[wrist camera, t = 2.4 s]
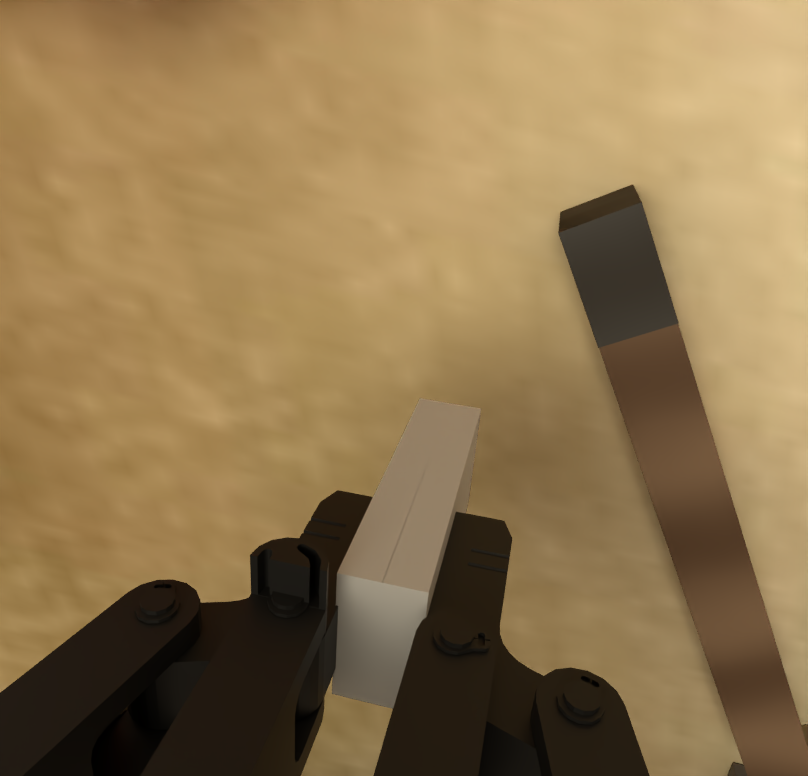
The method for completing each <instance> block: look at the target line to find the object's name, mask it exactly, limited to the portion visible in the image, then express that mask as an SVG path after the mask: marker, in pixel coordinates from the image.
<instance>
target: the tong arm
mask: <svg viewBox="0 0 808 776" xmlns="http://www.w3.org/2000/svg"><path fill="white" fill-rule="evenodd" d="M558 233H559V236H560V239H561V242H562V245H563V247H564V250H565V253H566V256H567V259H568V262H569V265H570V268H571V270H572V273H573V276H574V279H575V282H576V285H577V288H578V291H579V293H580V296H581V299H582V302H583V305H584V308H585V311H586V314H587V317H588V319H589V322H590V325H591V328H592V331H593V334H594V337H595V340H596V342H597V345H598V348H599V349H600V352H601V355H602V358H603V361H604V363H605V366H606V369H607V372H608V375H609V378H610V381H611V384H612V386H613V389H614V392H615V395H616V398H617V401H618V404H619V407H620V410H621V412H622V415H623V418H624V421H625V424H626V427H627V430H628V433H629V436H630V438H631V441H632V444H633V447H634V450H635V453H636V456H637V459H638V461H639V464H640V467H641V470H642V473H643V476H644V479H645V482H646V485H647V487H648V490H649V493H650V496H651V499H652V502H653V505H654V508H655V511H656V513H657V516H658V519H659V522H660V525H661V528H662V531H663V534H664V536H665V539H666V542H667V545H668V548H669V551H670V554H671V557H672V560H673V562H674V565H675V568H676V571H677V574H678V577H679V580H680V583H681V585H682V588H683V591H684V594H685V597H686V600H687V603H688V606H689V609H690V611H691V614H692V617H693V620H694V623H695V626H696V629H697V632H698V635H699V637H700V640H701V643H702V646H703V649H704V652H705V655H706V658H707V660H708V663H709V666H710V669H711V672H712V675H713V678H714V681H715V684H716V686H717V689H718V692H719V695H720V698H721V701H722V704H723V707H724V709H725V712H726V715H727V718H728V721H729V724H730V727H731V730H732V733H733V735H734V738H735V741H736V744H737V747H738V750H739V753H740V756H741V759H742V761H743V764H744V767H745V770H746V773H747V776H808V747H807V744H806V741H805V737H804V734H803V731H802V727H801V724H800V721H799V718H798V714H797V711H796V708H795V705H794V701H793V698H792V695H791V691H790V688H789V685H788V682H787V678H786V675H785V672H784V669H783V665H782V662H781V659H780V656H779V652H778V649H777V646H776V642H775V639H774V636H773V633H772V629H771V626H770V623H769V620H768V616H767V613H766V610H765V606H764V603H763V600H762V597H761V593H760V590H759V587H758V584H757V580H756V577H755V574H754V571H753V567H752V564H751V561H750V557H749V554H748V551H747V548H746V544H745V541H744V538H743V535H742V531H741V528H740V525H739V521H738V518H737V515H736V512H735V508H734V505H733V502H732V499H731V495H730V492H729V489H728V485H727V482H726V479H725V476H724V472H723V469H722V466H721V463H720V459H719V456H718V453H717V450H716V446H715V443H714V440H713V436H712V433H711V430H710V427H709V423H708V420H707V417H706V414H705V410H704V407H703V404H702V400H701V397H700V394H699V391H698V387H697V384H696V381H695V378H694V374H693V371H692V368H691V365H690V361H689V358H688V355H687V351H686V348H685V345H684V342H683V338H682V335H681V332H680V329H679V325H678V320H677V316H676V313H675V310H674V307H673V303H672V300H671V297H670V293H669V290H668V287H667V284H666V280H665V277H664V274H663V271H662V267H661V264H660V261H659V257H658V254H657V251H656V248H655V244H654V241H653V238H652V235H651V231H650V228H649V225H648V221H647V218H646V215H645V212H644V208H643V205H642V202H641V200H640V198H639V196H638V194H637V192H636V190H635V188H634V186H633V185H631V186H628V187H625V188H623V189H620V190H617V191H615V192H612V193H610V194H607V195H604V196H602V197H599V198H596V199H594V200H591V201H588V202H586V203H583V204H581V205H578V206H575V207H573V208H570V209H567V210H565V211H562V212H561V213H560V223H559V232H558Z"/></svg>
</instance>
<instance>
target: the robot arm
mask: <svg viewBox="0 0 808 776" xmlns="http://www.w3.org/2000/svg"><path fill="white" fill-rule="evenodd" d="M480 414H481V408H476V407H470V406H464V405H458V404H452V403H446V402H440V401H434V400H428V399H422V398H420V399H419V401H418V403H417V405H416V407H415V409H414V412H413V414H412V416H411V418H410V420H409V422H408V424H407V426H406V428H405V431H404V433H403V435H402V437H401V439H400V441H399V443H398V445H397V447H396V450H395V452H394V454H393V456H392V458H391V460H390V462H389V464H388V466H387V469H386V471H385V473H384V475H383V477H382V479H381V481H380V483H379V485H378V488H377V490H376V492H375V494H374V496H373V497H369V496H364V495H359V494H354V493H349V492H344V491H339V490H338V491H336V492H335V493H333V494H332V495H330V496H329V497H327V498H326V499H324V500H323V501H321V502H320V504H319V505H318V507H317V509H316V511H315V512H314V514H313V516H312V517H311V521H309V523H308V524H307V526H306V528H305V529H304V533H302V534H301V536H300V538H282V539H276V540H272V541H269V542H267V543H265V544H263V545H261V546H259V547H258V548H257V549H256V550H255V551H254V552H253V553H252V554H251V555H250V565H251V595H250V597H249V598H247V599H243V600H240V601H231V602H210V603H200V599H199V596H198V594H197V592H196V590H195V589H194V588H192V587H191V586H189V585H188V584H187V583H184V582H180V581H176V580H156V581H152V582H149V583H145V584H142V585H140V586H138V587H136V588H135V589H133V590H131V591H130V592H128V593H127V594H125V595H124V596H123V597H122V598H120V599H119V600H118V601H116V602H115V603H114V604H113V605H111V606H110V607H109V608H108V609H106V610H105V611H104V612H102V613H101V614H100V615H99V616H97V617H96V618H95V619H94V620H92V621H91V622H90V623H88V624H87V625H86V626H85V627H83V628H82V629H81V630H80V631H78V632H77V633H76V634H74V635H73V636H72V637H71V638H69V639H68V640H67V641H66V642H64V643H63V644H62V645H61V646H59V647H58V648H57V649H55V650H54V651H53V652H52V653H50V654H49V655H48V656H47V657H45V658H44V659H43V660H41V661H40V662H39V663H38V664H36V665H35V666H34V667H33V668H31V669H30V670H29V671H27V672H26V673H25V674H24V675H22V676H21V677H20V678H19V679H17V680H16V681H15V682H14V683H12V684H11V685H10V686H8V687H7V688H6V689H5V690H3V691H2V692H1V693H0V776H301V774H302V771H303V769H304V766H305V764H306V761H307V758H308V756H309V753H310V751H311V748H312V746H313V743H314V740H315V738H316V735H317V733H318V730H319V727H320V725H321V722H322V719H323V712H324V696H325V693H326V691H327V688H328V686H329V683H330V681H331V678H332V676H333V684H332V694H335V695H339V696H343V697H347V698H352V699H356V700H360V701H364V702H368V703H372V704H376V705H380V706H384V707H388V708H392V709H393V711H392V714H391V718H390V721H389V725H388V728H387V731H386V735H385V738H384V742H383V745H382V749H381V752H380V755H379V759H378V762H377V766H376V769H375V772H374V776H649V773H648V770H647V767H646V764H645V762H644V759H643V756H642V753H641V750H640V747H639V744H638V741H637V739H636V736H635V733H634V730H633V727H632V724H631V721H630V718H629V716H628V713H627V710H626V707H625V704H624V703H623V701H622V699H621V698H620V696H619V694H618V692H617V691H616V690H615V689H614V688H613V687H612V686H611V685H610V684H609V683H607V682H606V681H605V680H604V679H603V678H601V677H599V676H597V675H595V674H593V673H591V672H589V671H585V670H580V669H575V668H564V669H556V670H554V671H552V672H550V673H548V674H547V675H545V676H543V675H541V674H539V673H537V672H535V671H533V670H531V669H529V668H528V667H526V666H524V665H523V664H521V663H520V662H518V661H517V660H516V659H515V658H514V657H513V656H512V655H511V654H510V653H509V652H508V650H507V649H506V647H505V646H504V644H503V642H502V639H501V636H500V619H501V613H502V606H503V599H504V592H505V585H506V578H507V571H508V564H509V557H510V550H511V543H512V537H511V535H510V532H509V530H508V528H507V526H506V524H505V521H502V520H497V519H492V518H487V517H481V516H476V515H471V514H466V510H467V506H468V502H469V495H470V487H471V480H472V473H473V465H474V458H475V451H476V443H477V436H478V429H479V421H480Z"/></svg>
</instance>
